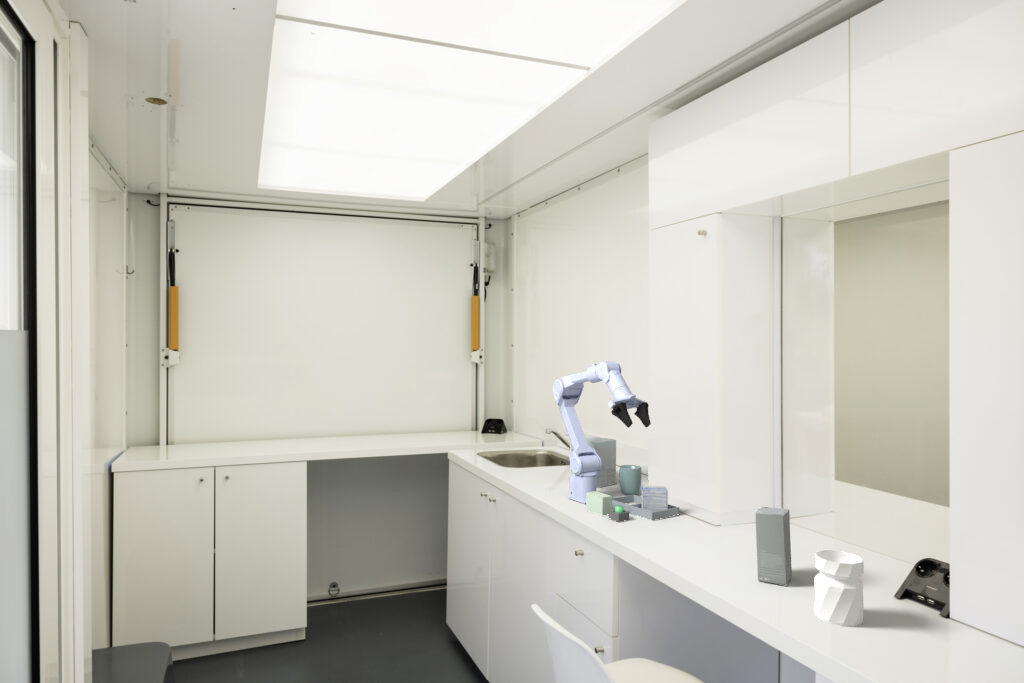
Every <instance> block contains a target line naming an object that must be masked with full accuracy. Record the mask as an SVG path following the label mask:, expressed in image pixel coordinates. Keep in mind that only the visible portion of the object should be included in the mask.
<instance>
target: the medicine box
mask: <svg viewBox="0 0 1024 683" xmlns="http://www.w3.org/2000/svg"><path fill="white" fill-rule="evenodd" d="M640 491H641V492H640V494H641V495H640V497H641V509H645V510H648V511H651V512H655V511H661V510H666V509H668V504H669V500H668V499H669V497H668V494H669V493H668V492H669V490H668V488H667V487H666V486H665V485H663V486H662V485H659V486H658V485H641V488H640Z"/></svg>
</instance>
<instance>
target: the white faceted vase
mask: <svg viewBox="0 0 1024 683" xmlns="http://www.w3.org/2000/svg"><path fill="white" fill-rule="evenodd" d="M814 559H815V561H814V562H815V565H814V568H815V569H816V570H817V571H818V573H817V574H816V575H815V576H814V578H813V580H814V581H813V582H814V583H813V585H814V604H813V614H814V615H815V617H816V618H817V619H818V620H821V621H823V622H825V623H828V624H831V625H836V626H840V627H856V626H859V625H862V624H863V622H864V591H863V590H864V584H863V582H862V581H861V580H860V579H859V577H861V576H862V575H863V574H864V572H865V569H864V568H865V566H864V558H862V556H859V555H858V554H855V553H851V552H849V551H844V550H835V549H819V550H817V551H815V552H814Z"/></svg>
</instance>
